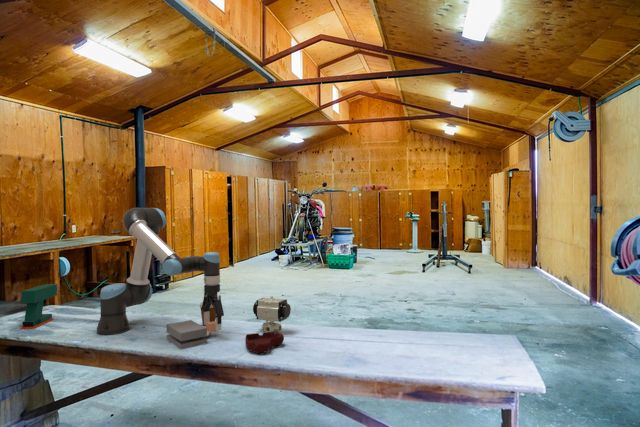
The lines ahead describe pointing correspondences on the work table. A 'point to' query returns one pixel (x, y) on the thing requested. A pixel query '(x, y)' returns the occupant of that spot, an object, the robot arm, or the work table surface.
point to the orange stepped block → (211, 326)
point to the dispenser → (186, 334)
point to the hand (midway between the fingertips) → (212, 327)
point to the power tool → (37, 305)
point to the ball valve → (271, 312)
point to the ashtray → (263, 341)
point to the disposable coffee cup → (212, 313)
